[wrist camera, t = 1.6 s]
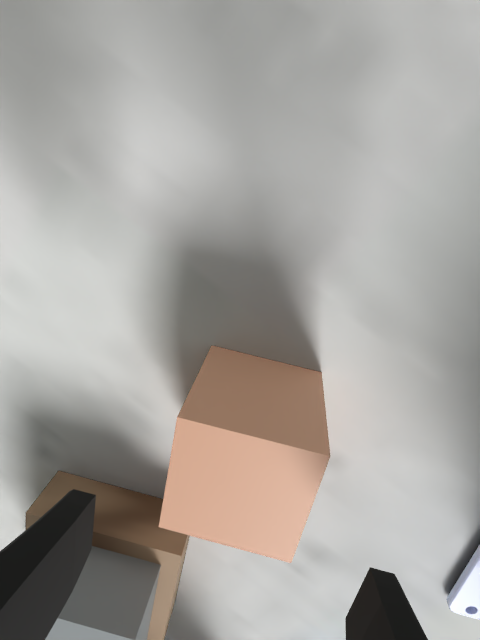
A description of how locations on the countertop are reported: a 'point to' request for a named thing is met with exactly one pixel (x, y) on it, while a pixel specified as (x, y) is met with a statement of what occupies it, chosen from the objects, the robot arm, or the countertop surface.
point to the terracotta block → (247, 454)
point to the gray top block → (109, 599)
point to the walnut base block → (126, 534)
